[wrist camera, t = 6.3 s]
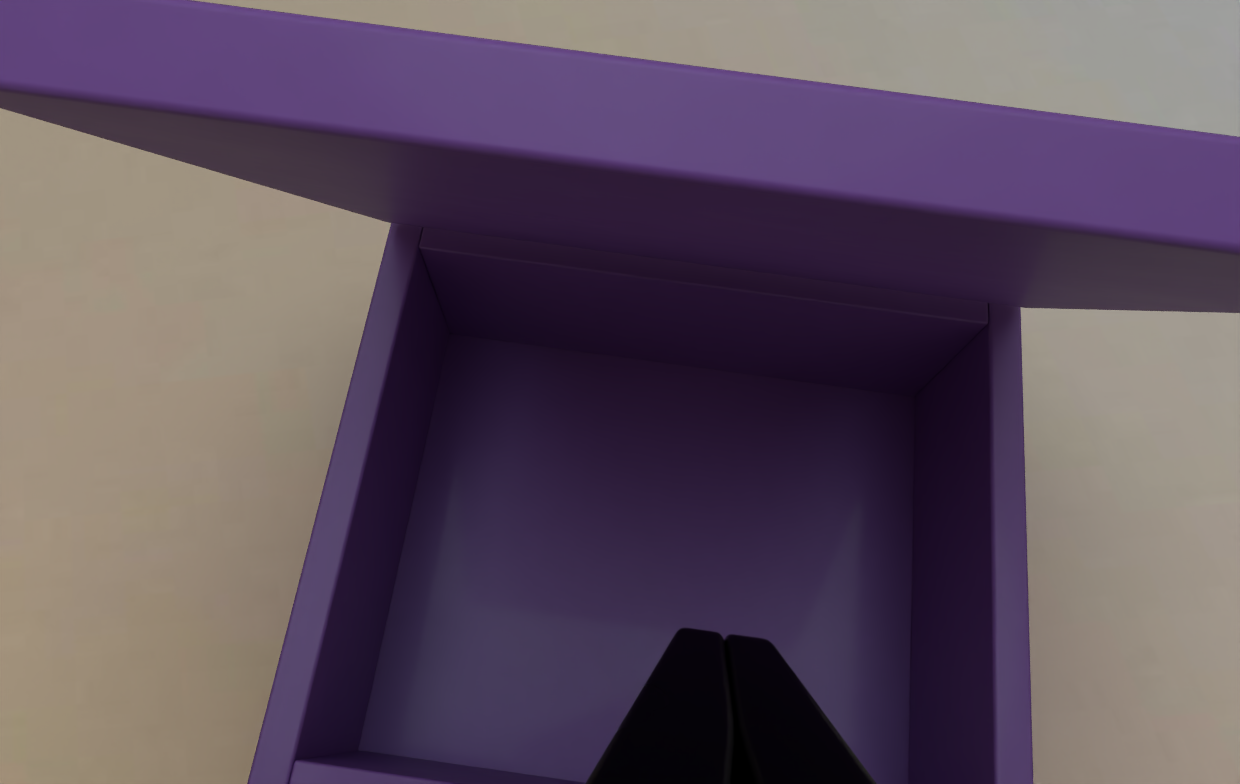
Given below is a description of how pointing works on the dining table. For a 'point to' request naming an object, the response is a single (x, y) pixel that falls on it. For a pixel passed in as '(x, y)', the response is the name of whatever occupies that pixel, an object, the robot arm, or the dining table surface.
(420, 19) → the dining table surface
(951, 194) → the lid
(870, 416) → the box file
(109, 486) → the dining table surface
